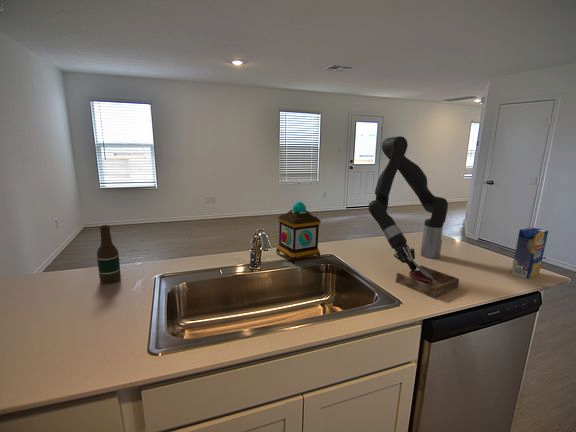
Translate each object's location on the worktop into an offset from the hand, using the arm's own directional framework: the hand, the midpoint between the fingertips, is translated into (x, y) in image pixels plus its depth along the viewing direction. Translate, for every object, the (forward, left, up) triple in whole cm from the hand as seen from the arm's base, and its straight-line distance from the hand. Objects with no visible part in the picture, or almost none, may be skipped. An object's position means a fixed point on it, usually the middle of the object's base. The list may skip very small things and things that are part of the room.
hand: (414, 269), depth 135 cm
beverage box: (-57, +15, -5) cm, 59 cm away
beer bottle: (+124, -47, -5) cm, 133 cm away
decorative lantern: (+36, -46, -5) cm, 58 cm away
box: (-1, +6, -5) cm, 8 cm away
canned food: (-1, +3, -5) cm, 6 cm away
